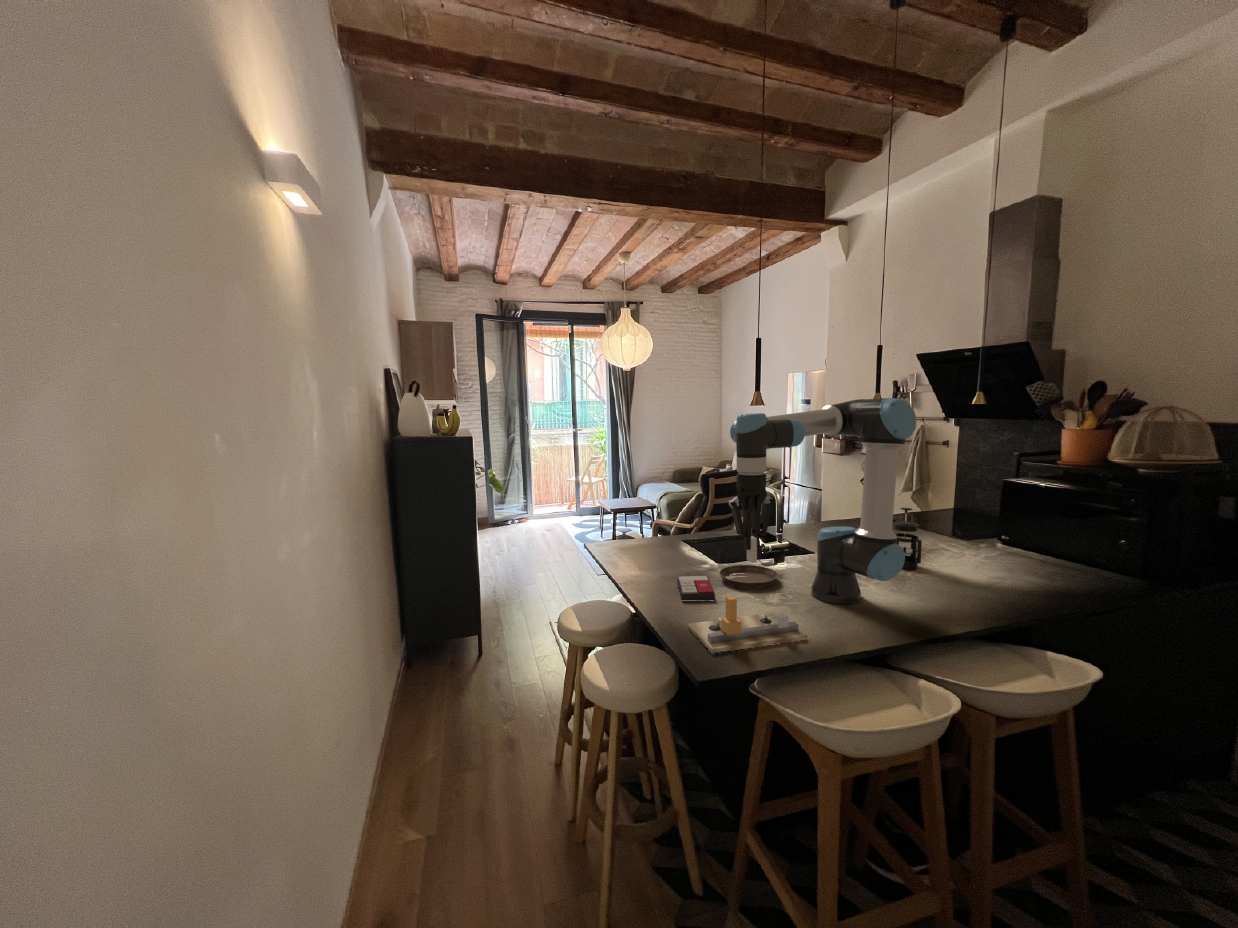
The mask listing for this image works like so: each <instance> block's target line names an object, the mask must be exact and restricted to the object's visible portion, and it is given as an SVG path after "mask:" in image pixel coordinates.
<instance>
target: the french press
mask: <svg viewBox="0 0 1238 928" xmlns="http://www.w3.org/2000/svg"><path fill="white" fill-rule="evenodd" d="M899 510H902V511H904V514H905V517H904V518H905V519H904V521H903V520H902V521H900V520H899V521H893V523H892V526H893V529H894V530H896V531H900V532H901V533H900V532H899V533H895V534H896V535H897V545H899V546H900V542H901V543H904V544H903V546H901V547H902V548H903V551H904V552H905V561H904V565H903V567H902V569H901V570H903V569H904V571H914V570H918V569H919V566H918V564H920V563H922V546H923V545H922V542H923V541H922V539H919V536H918V535H915V534H910V532H912V533H913V532H917V531H918V529H919V527H920V524H919V523H918V522H917V523H916V522H914V521H907V515H908V511H913V508H912V507H911V508H910V507H900V509H899ZM902 532H904V533H902ZM907 532H909V533H907ZM903 537H904V538H903ZM906 543H910V547H906Z"/></svg>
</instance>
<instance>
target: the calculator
mask: <svg viewBox="0 0 1238 928" xmlns="http://www.w3.org/2000/svg"><path fill="white" fill-rule="evenodd" d="M709 578H710V577H708V576H707V575H698V576H697V575H694V576H693V575H691V576H689V575H688V576H677V577H676V581H677V582H676V586H677V585H678V587H677V589H679V590H678V593H679V592H680V594H679V597H680V596H681V598H680V600H715V601H716V594H715V590H714V588H713V585H712V583H711V582H710V579H709Z"/></svg>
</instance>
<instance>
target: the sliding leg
mask: <svg viewBox="0 0 1238 928" xmlns="http://www.w3.org/2000/svg"><path fill="white" fill-rule="evenodd" d="M737 602H738V599H737V597H735V596H733V595H730V596H729V595H728V596H725V617H718V618H717V619H716V620H717V626H721V629H722V630H723V631H724V632H725V633H726V634H727V635H731V634H738V633H741V621H740V620H739V619H738V618H737V617H738V615H737V613H738V612H737V611H738V606H737V605H738V603H737Z"/></svg>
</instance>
